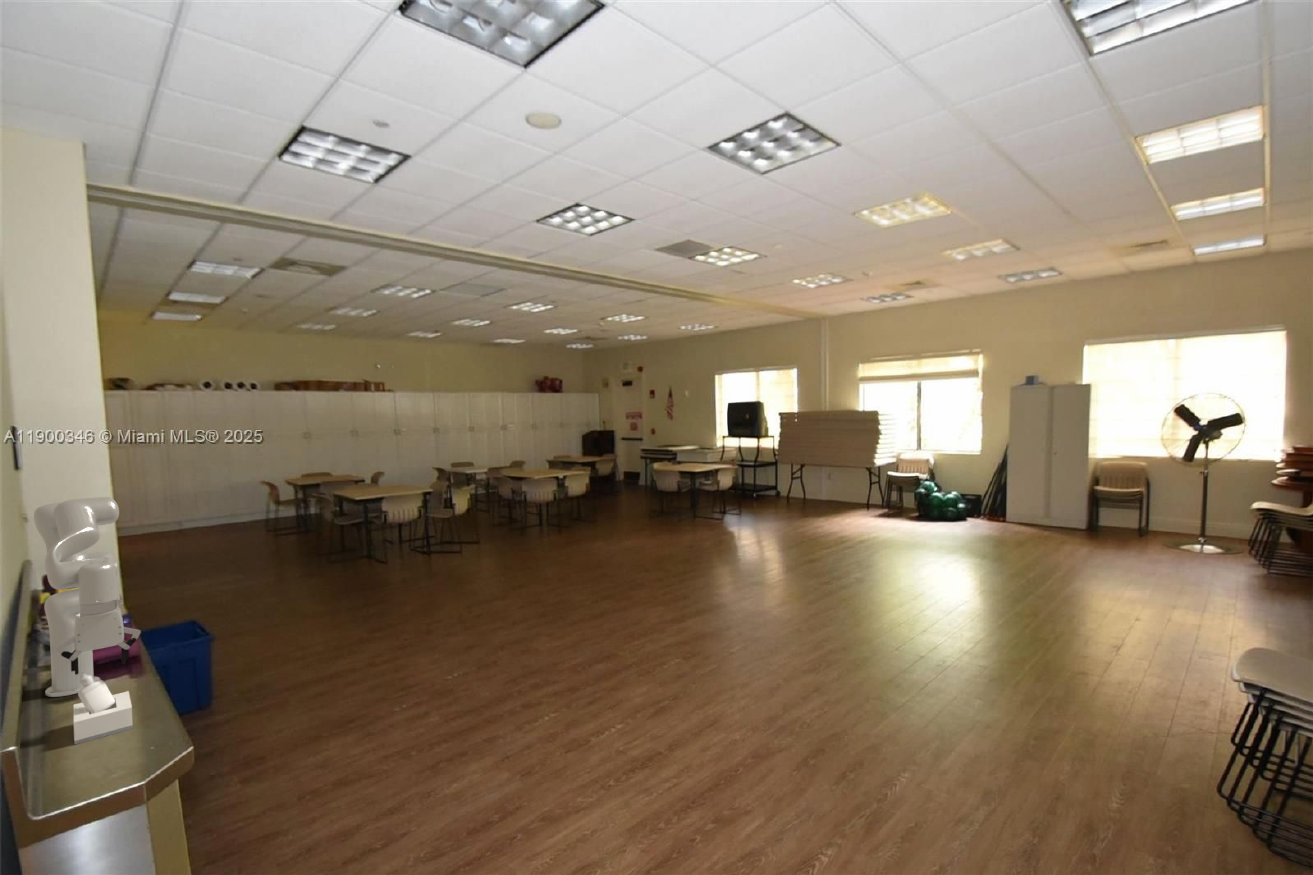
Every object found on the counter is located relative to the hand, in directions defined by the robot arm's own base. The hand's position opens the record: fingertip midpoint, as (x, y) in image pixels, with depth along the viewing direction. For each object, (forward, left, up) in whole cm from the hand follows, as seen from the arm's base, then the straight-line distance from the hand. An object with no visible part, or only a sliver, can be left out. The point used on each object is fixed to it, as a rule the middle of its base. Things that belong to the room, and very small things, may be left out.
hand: (100, 667), depth 167 cm
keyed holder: (0, 0, -17) cm, 17 cm away
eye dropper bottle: (+1, 0, -12) cm, 12 cm away
